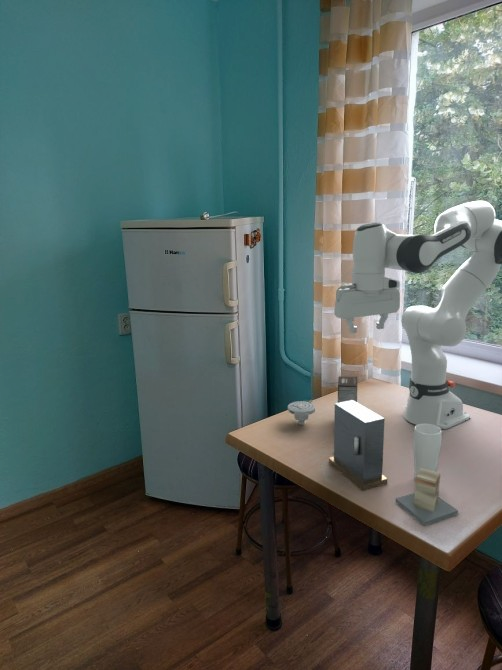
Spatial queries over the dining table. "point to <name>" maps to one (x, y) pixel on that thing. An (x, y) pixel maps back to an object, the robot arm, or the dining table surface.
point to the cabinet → (358, 444)
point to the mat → (423, 515)
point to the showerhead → (301, 410)
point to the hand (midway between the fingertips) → (366, 330)
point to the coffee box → (347, 389)
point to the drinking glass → (426, 447)
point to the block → (426, 489)
